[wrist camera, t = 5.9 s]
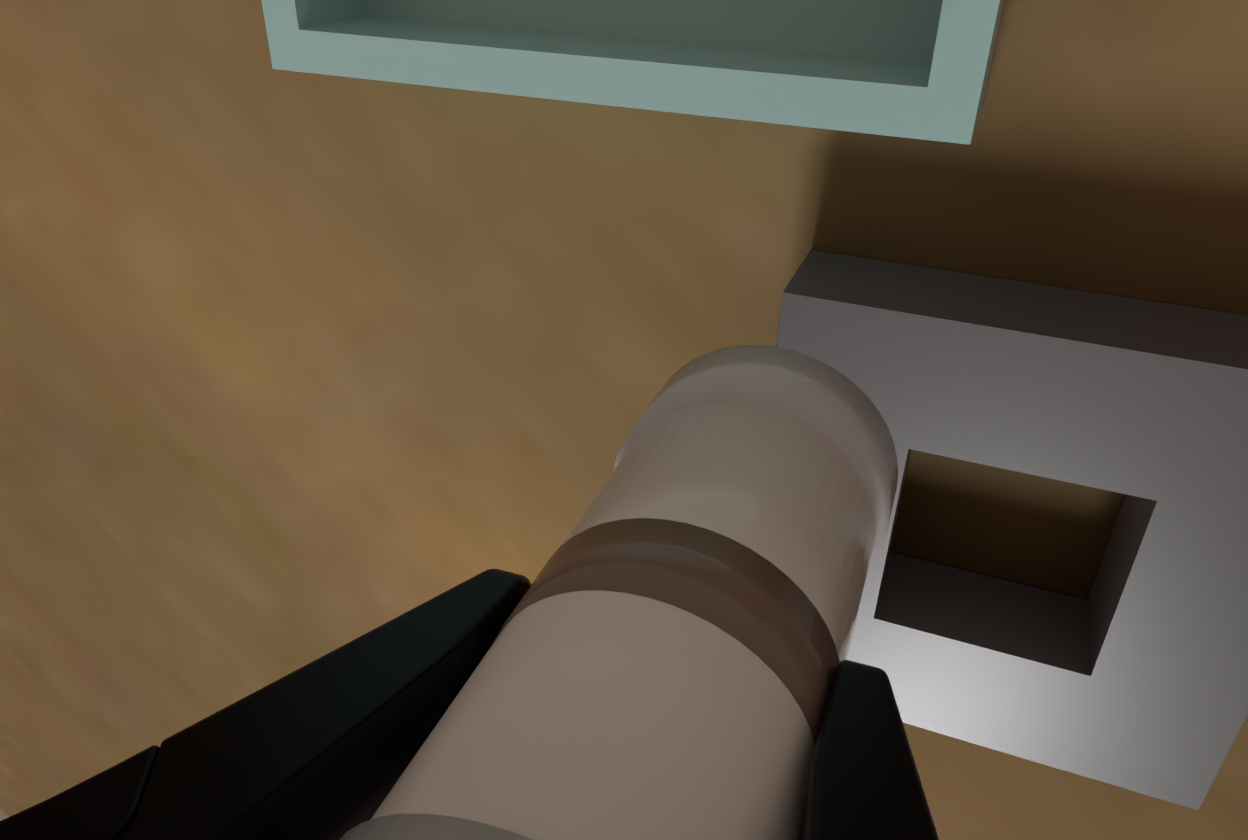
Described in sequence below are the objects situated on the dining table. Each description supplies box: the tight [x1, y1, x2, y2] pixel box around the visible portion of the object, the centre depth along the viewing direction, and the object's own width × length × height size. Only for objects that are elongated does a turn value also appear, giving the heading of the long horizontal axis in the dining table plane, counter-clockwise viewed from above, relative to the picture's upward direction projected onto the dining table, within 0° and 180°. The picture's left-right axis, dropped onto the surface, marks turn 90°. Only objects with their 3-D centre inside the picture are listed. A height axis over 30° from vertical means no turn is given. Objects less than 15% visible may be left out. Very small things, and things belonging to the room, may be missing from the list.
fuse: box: [339, 345, 898, 840], centre depth 9 cm, size 3×3×8 cm
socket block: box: [777, 250, 1248, 810], centre depth 20 cm, size 10×10×2 cm
